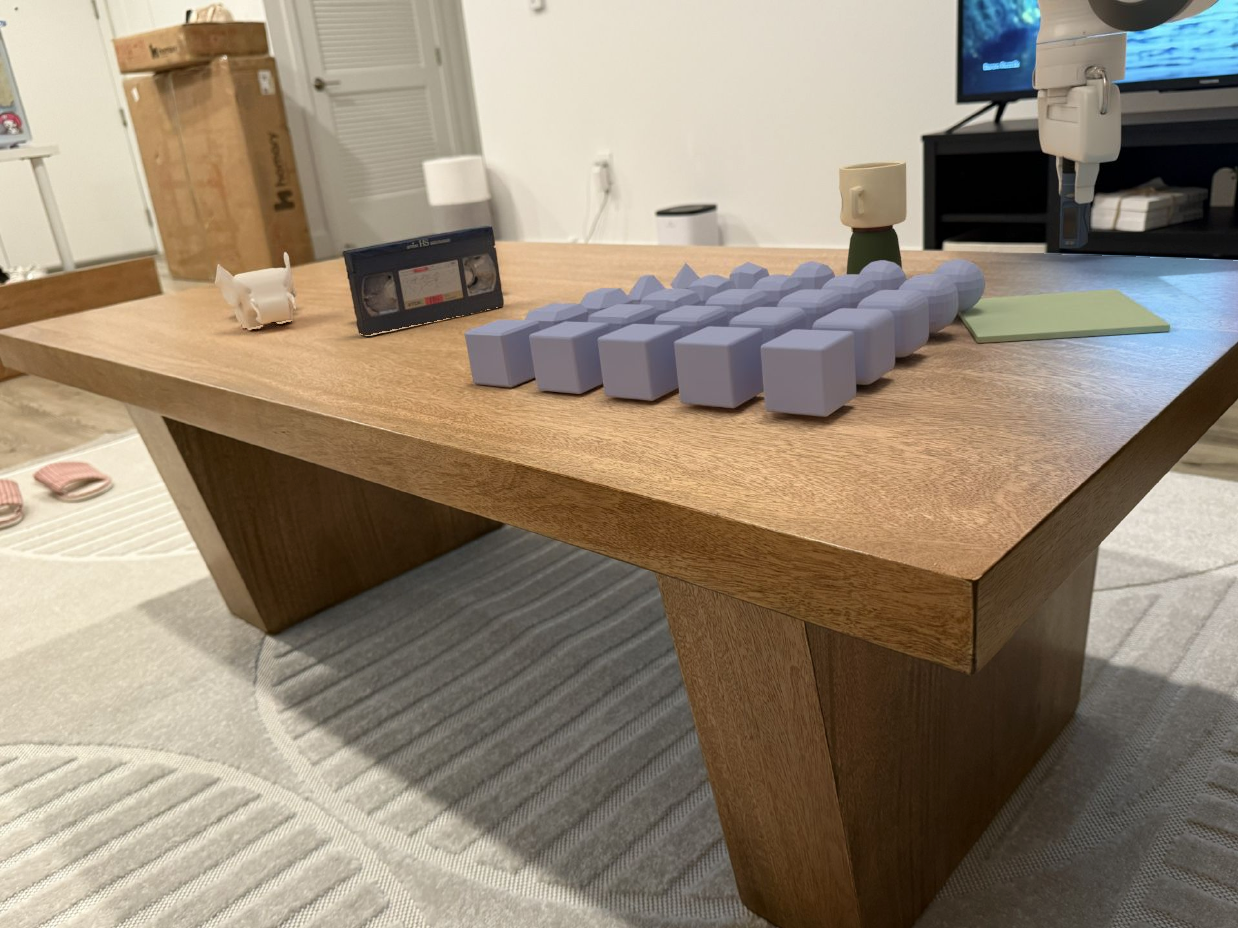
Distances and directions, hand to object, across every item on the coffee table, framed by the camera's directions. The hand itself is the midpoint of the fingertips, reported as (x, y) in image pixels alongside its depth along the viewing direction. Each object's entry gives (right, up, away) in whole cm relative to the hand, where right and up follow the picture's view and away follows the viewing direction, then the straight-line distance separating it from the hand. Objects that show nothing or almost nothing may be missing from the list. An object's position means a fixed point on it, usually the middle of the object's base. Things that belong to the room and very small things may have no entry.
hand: (1075, 199), depth 111 cm
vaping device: (+1, -5, +2) cm, 5 cm away
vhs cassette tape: (-74, -13, +9) cm, 75 cm away
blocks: (-40, -19, -20) cm, 49 cm away
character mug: (-22, -9, +1) cm, 24 cm away
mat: (-12, -17, -22) cm, 30 cm away
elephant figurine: (-97, -12, +17) cm, 99 cm away
